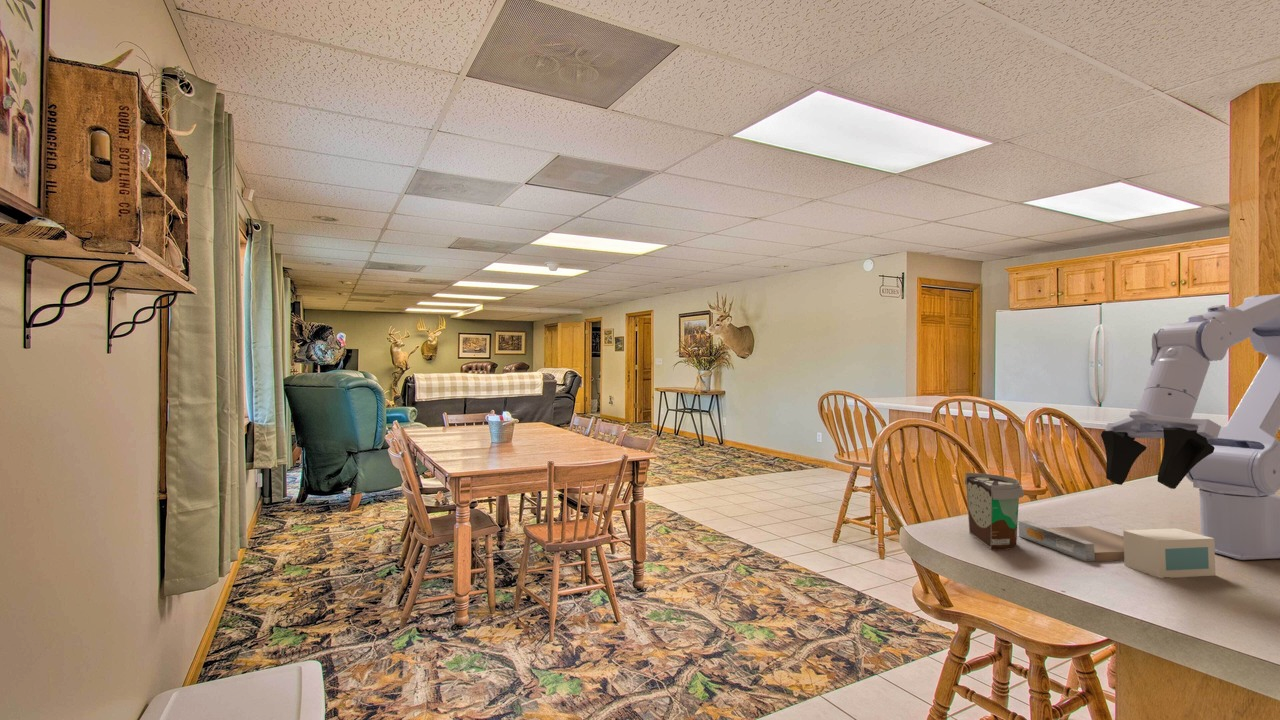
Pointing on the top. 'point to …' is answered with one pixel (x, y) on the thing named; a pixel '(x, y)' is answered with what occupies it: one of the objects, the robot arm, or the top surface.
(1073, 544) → the price rail
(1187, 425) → the robot arm
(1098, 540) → the shelf board
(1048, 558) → the top surface
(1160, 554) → the carton
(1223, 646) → the top surface
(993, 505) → the food container
